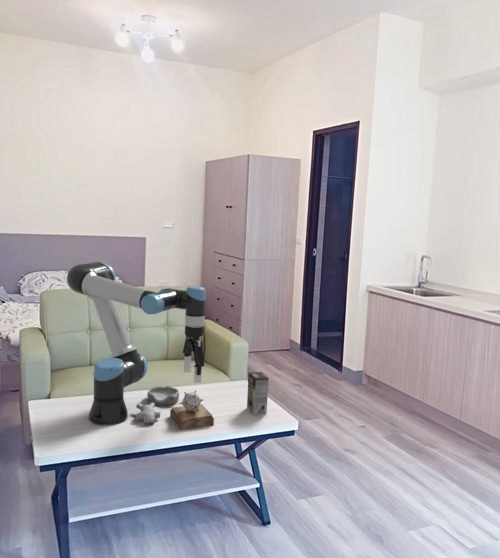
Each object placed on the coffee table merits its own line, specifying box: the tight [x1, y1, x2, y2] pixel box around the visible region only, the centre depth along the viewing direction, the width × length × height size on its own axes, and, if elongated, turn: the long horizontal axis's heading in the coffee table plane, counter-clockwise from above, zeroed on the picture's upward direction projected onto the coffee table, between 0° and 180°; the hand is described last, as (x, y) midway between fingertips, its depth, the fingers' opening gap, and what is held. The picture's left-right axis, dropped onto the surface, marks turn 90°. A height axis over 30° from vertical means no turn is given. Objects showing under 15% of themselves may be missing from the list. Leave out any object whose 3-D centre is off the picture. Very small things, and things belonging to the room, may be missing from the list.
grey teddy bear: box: [135, 402, 161, 424], centre depth 220 cm, size 10×5×15 cm
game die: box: [179, 390, 204, 413], centre depth 218 cm, size 9×8×10 cm
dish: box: [146, 385, 180, 406], centre depth 240 cm, size 14×14×5 cm
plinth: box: [169, 403, 215, 430], centre depth 219 cm, size 14×14×4 cm
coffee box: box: [246, 371, 269, 416], centre depth 232 cm, size 9×6×16 cm
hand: (192, 377), depth 217 cm, fingers open, 13 cm apart
